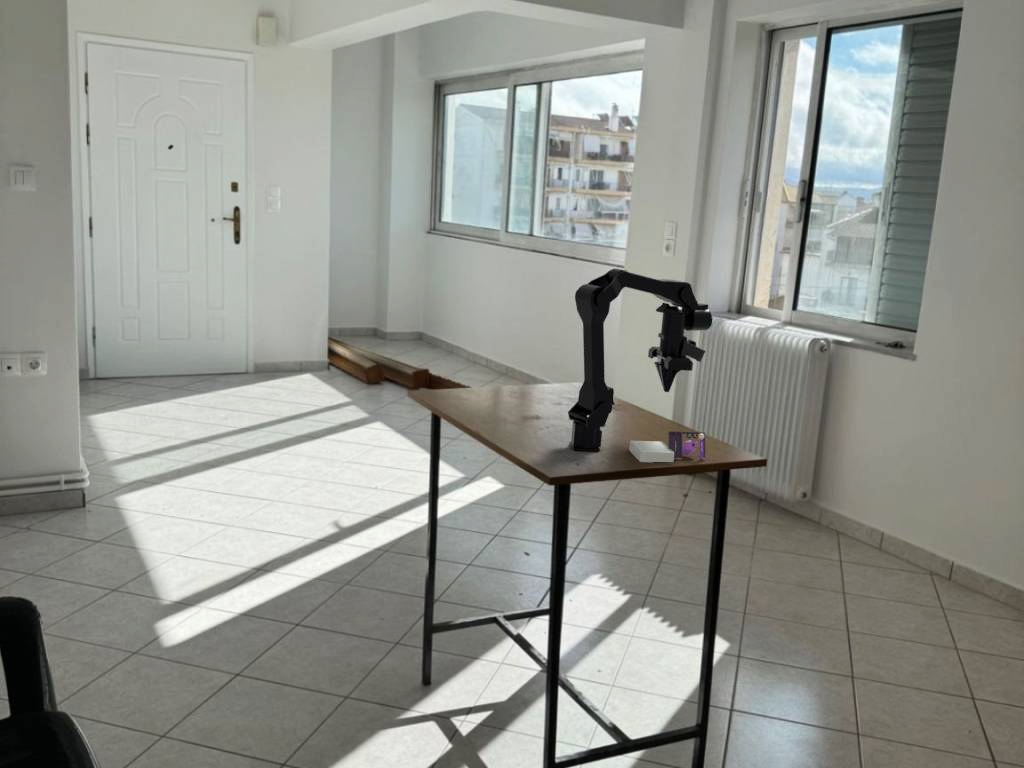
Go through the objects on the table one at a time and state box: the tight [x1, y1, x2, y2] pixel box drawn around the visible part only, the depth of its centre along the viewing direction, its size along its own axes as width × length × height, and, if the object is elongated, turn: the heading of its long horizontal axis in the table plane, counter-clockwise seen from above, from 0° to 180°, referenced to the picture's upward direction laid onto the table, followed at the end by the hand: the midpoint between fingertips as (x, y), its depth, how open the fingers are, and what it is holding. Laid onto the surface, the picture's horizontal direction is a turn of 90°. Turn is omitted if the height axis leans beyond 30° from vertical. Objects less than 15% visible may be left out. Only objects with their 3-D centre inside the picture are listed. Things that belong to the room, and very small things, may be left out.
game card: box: [668, 430, 706, 459], centre depth 228 cm, size 7×5×9 cm
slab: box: [628, 440, 675, 463], centre depth 226 cm, size 8×10×3 cm
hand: (666, 391), depth 239 cm, fingers closed
